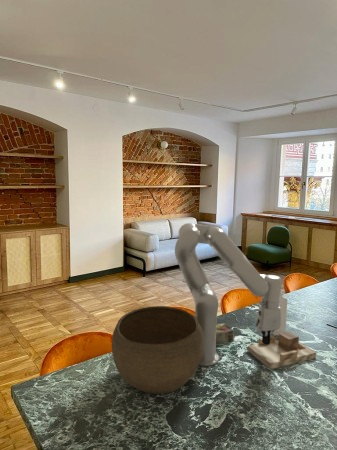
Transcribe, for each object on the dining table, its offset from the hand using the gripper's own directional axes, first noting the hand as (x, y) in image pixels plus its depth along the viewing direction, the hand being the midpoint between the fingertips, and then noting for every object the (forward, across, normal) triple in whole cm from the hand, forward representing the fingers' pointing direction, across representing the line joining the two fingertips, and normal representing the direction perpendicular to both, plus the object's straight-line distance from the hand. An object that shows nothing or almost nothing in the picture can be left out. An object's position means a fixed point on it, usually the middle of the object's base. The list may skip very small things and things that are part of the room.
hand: (265, 343), depth 148 cm
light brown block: (+4, +12, 0) cm, 13 cm away
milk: (+6, +22, +18) cm, 28 cm away
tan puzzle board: (+6, +9, 0) cm, 11 cm away
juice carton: (+8, -13, +23) cm, 28 cm away
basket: (+10, -50, +1) cm, 51 cm away
